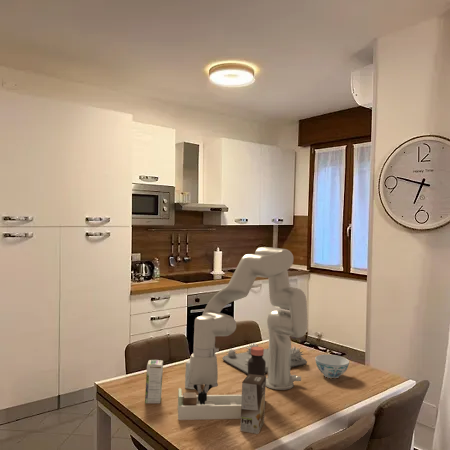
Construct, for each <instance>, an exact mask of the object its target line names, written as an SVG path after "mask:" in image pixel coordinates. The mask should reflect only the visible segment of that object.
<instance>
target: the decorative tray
mask: <svg viewBox="0 0 450 450" xmlns="http://www.w3.org/2000/svg"><path fill="white" fill-rule="evenodd" d="M248 345H249V346H246V349H247V350H246V351H245V352H240V353H238V352H236V351H235V349H233V348H231V349H228V350H227V352H226V353H227V354H226V355H223V357H221V358H222V360H223V361H224V362H225V363H227V364H229V365H231V366H233V367H235V368H236V369H238V370H240V371H242V372H243V373H245V374H247V375H248V360H249V359H250V358H251V357H252V356H251V348H252V347H259V345H258V343H248ZM263 349H264V354H263V359H264V360H265V362H266V366H265V374H266V373H268V352H269V347H268V348H263ZM301 349H302V348H300V347H297V346H295V345H292V347H291V366H290V368H294V367H300V366H304V365H306V364H307V363H308V361H307V359H306V358H304V357H303V356H304V355H305V354H304V351H301Z"/></svg>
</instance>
